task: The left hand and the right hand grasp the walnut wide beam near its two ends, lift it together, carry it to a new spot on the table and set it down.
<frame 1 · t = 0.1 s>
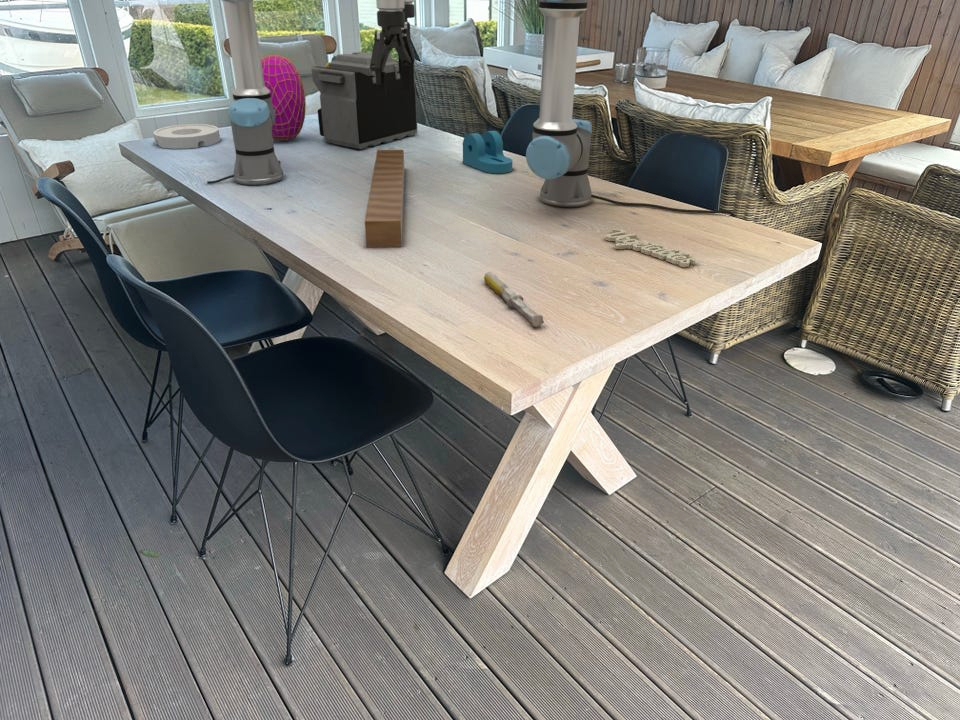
left hand: (405, 76, 224), 28 cm above the table, tool pointing down, fingers open, 13 cm apart
right hand: (394, 93, 197), 28 cm above the table, tool pointing down, fingers open, 13 cm apart
cooler box: (369, 139, 268), on the table
potted flower: (340, 116, 304), on the table
decorative egg: (284, 140, 265), on the table
wide beam: (388, 202, 200), on the table
camera mount: (490, 167, 234), on the table
syringe: (511, 303, 143), on the table
beige round base: (188, 141, 261), on the table
decorative sign: (645, 250, 169), on the table
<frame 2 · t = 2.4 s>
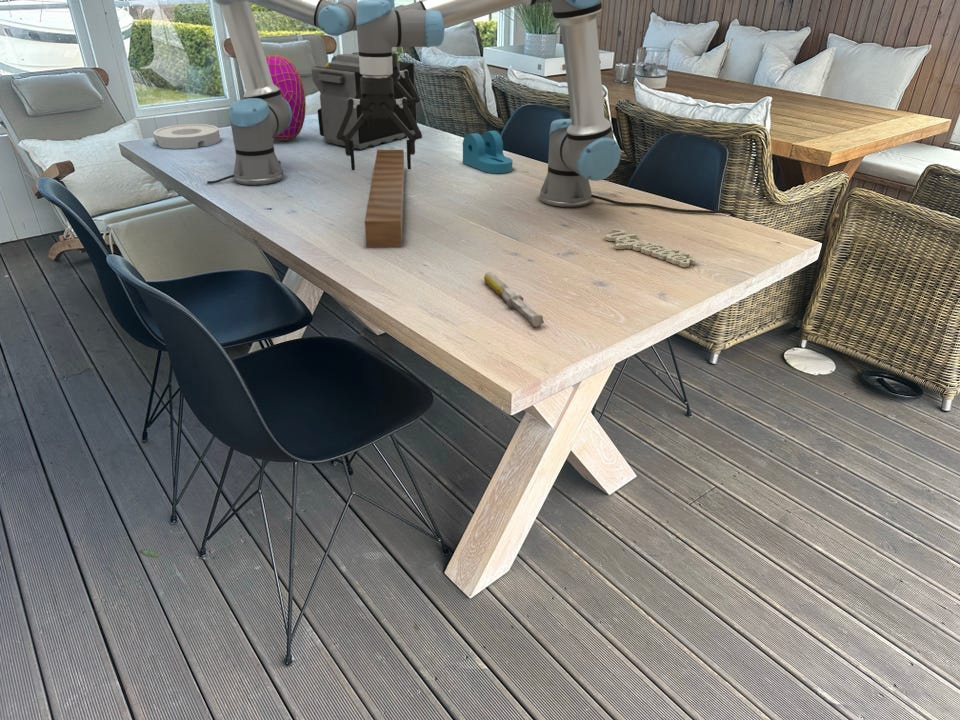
left hand: (388, 125, 218), 15 cm above the table, tool pointing down, fingers open, 13 cm apart
right hand: (381, 168, 168), 17 cm above the table, tool pointing down, fingers open, 13 cm apart
nothing on the table moved.
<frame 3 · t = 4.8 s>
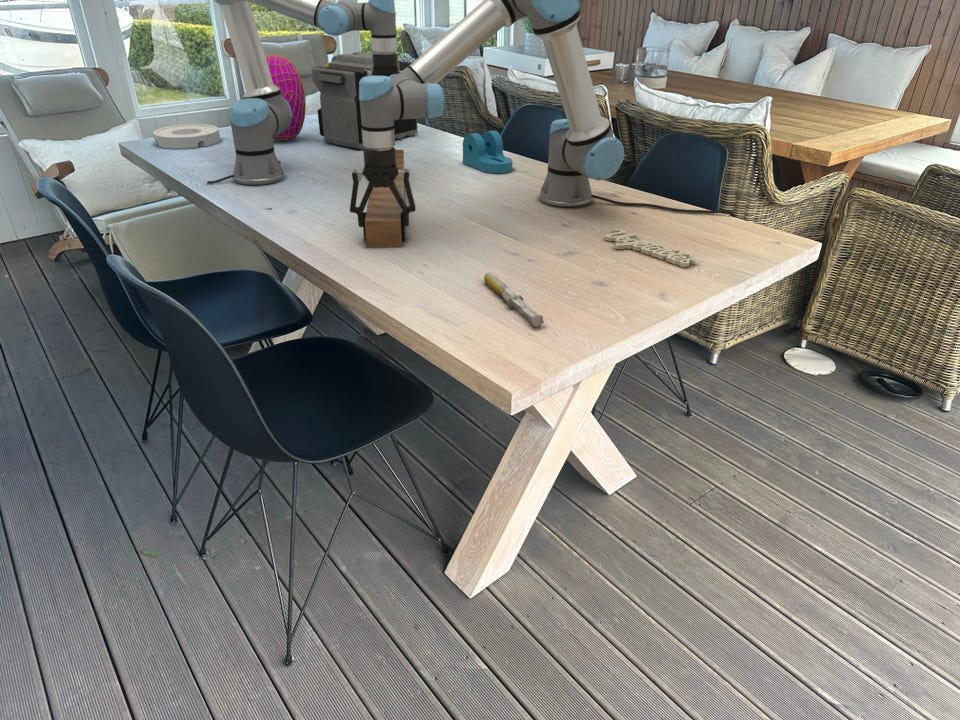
left hand: (388, 125, 218), 15 cm above the table, tool pointing down, fingers open, 13 cm apart
right hand: (384, 238, 173), 1 cm above the table, tool pointing down, fingers closed on wide beam, 9 cm apart
wide beam: (388, 202, 200), on the table, touching right hand
everything else where it was.
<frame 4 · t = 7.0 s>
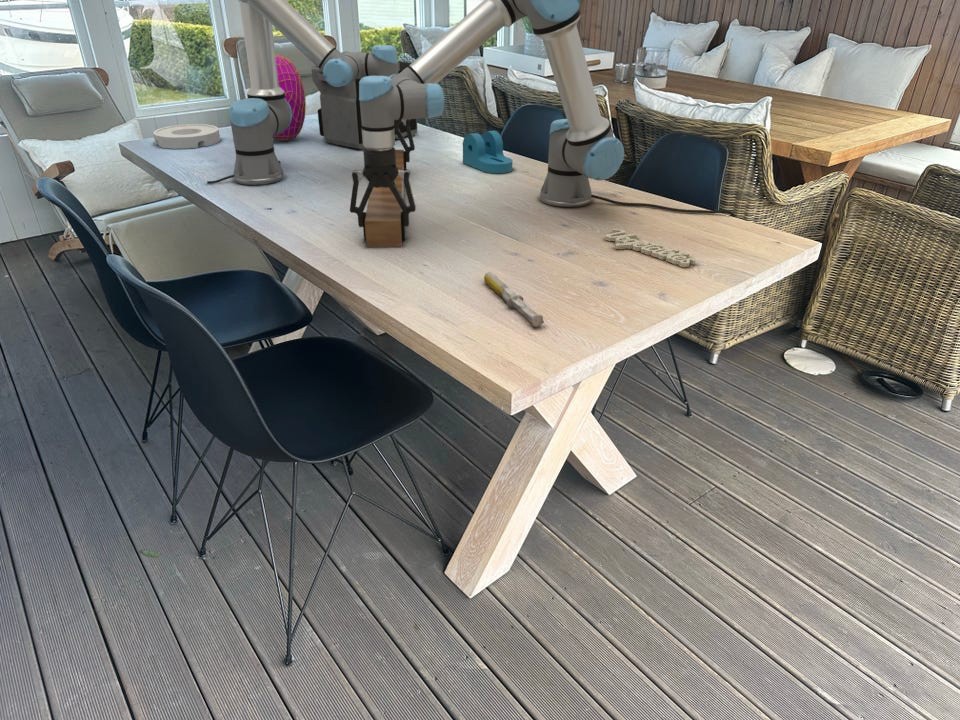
left hand: (391, 172, 226), 0 cm above the table, tool pointing down, fingers closed on wide beam, 9 cm apart
right hand: (384, 238, 173), 1 cm above the table, tool pointing down, fingers closed on wide beam, 9 cm apart
wide beam: (388, 202, 200), on the table, touching right hand, left hand
everything else where it was.
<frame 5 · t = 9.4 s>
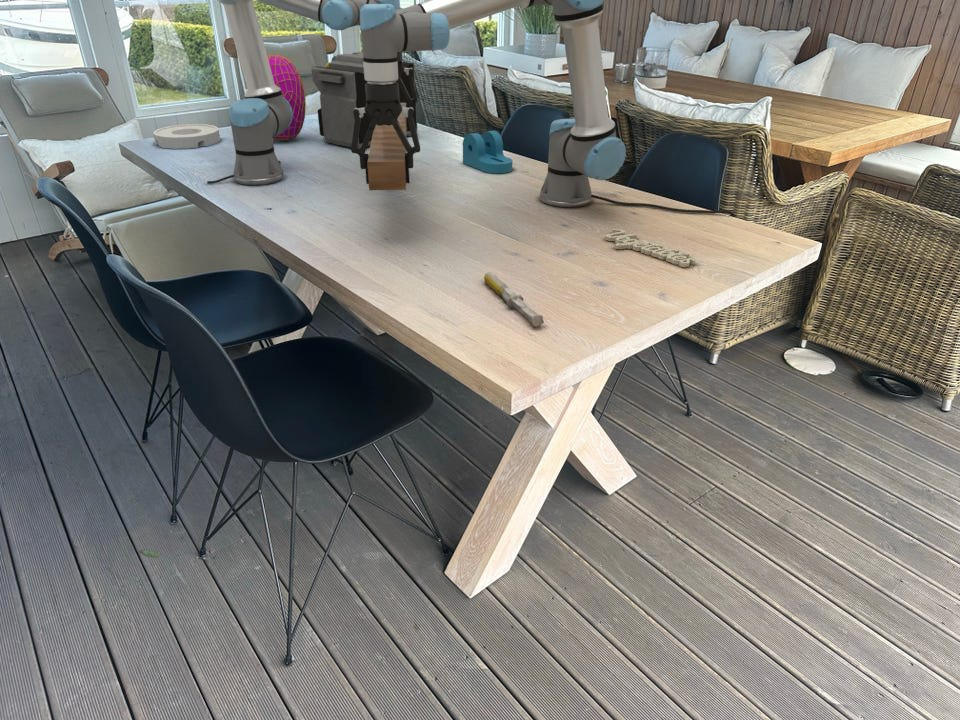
left hand: (393, 125, 218), 15 cm above the table, tool pointing down, fingers closed on wide beam, 9 cm apart
right hand: (388, 181, 165), 15 cm above the table, tool pointing down, fingers closed on wide beam, 9 cm apart
wide beam: (391, 152, 192), point 15 cm above the table, touching right hand, left hand
everything else where it was.
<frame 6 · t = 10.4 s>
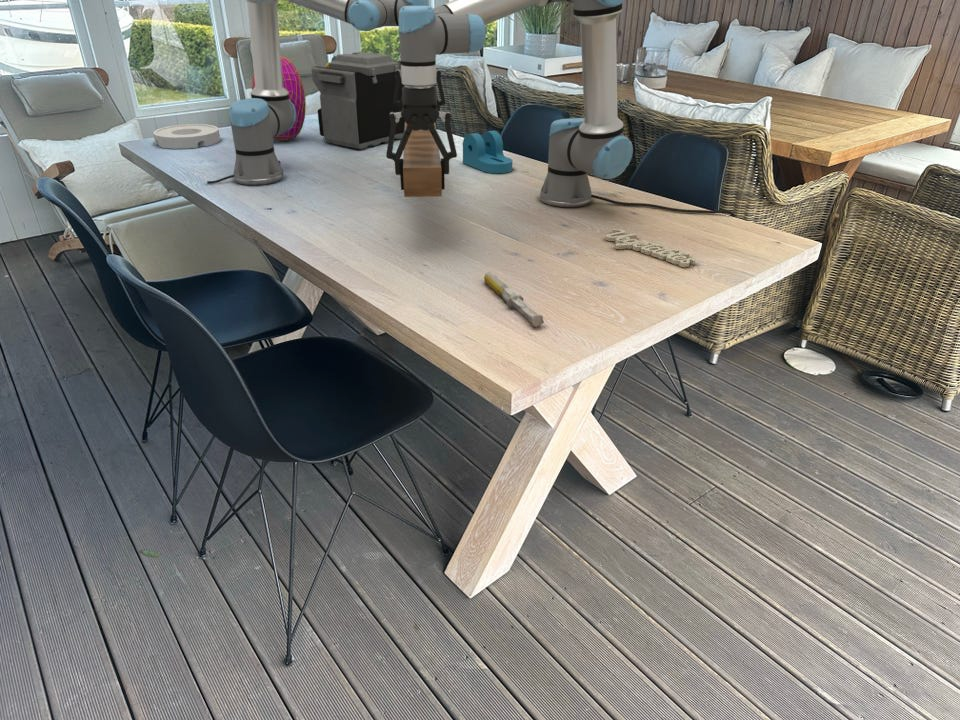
left hand: (420, 128, 214), 16 cm above the table, tool pointing down, fingers closed on wide beam, 9 cm apart
right hand: (423, 188, 161), 15 cm above the table, tool pointing down, fingers closed on wide beam, 9 cm apart
wide beam: (421, 156, 188), point 15 cm above the table, touching right hand, left hand
everything else where it was.
when the left hand's fingers open (2 cm above the table, at t = 14.3 s): wide beam drops 1 cm, on the table.
when the right hand's fingers open (2 cm above the table, at t = 14.3 s): wide beam drops 1 cm, on the table.
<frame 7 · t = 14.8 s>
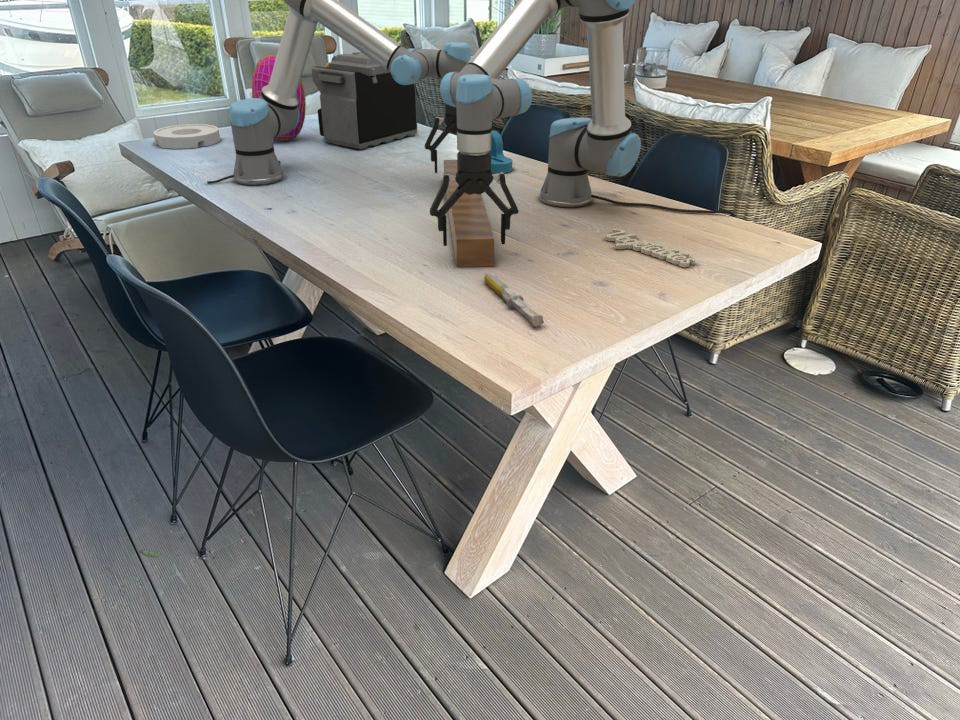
left hand: (457, 171, 214), 4 cm above the table, tool pointing down, fingers open, 13 cm apart
right hand: (474, 243, 161), 4 cm above the table, tool pointing down, fingers open, 13 cm apart
wide beam: (464, 216, 189), on the table
everything else where it was.
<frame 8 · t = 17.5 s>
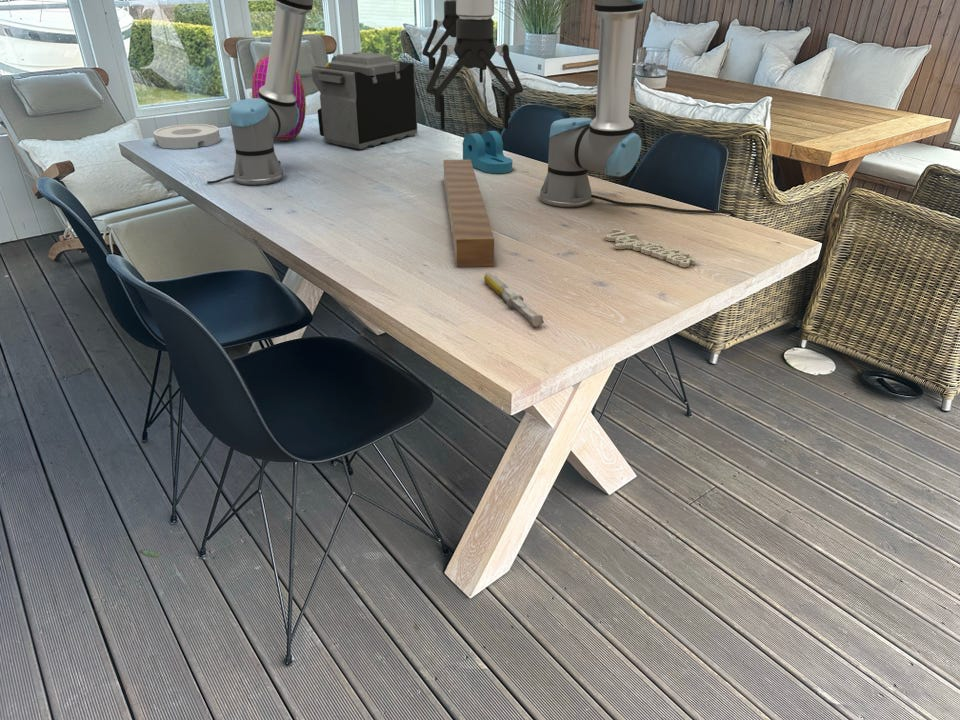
left hand: (457, 82, 201), 30 cm above the table, tool pointing down, fingers open, 13 cm apart
right hand: (474, 127, 148), 30 cm above the table, tool pointing down, fingers open, 13 cm apart
nothing on the table moved.
at the end: wide beam inside the target area (0.1 cm from its centre), on the table; wide beam tilted 0°; wide beam never tilted more than 1° during the clip; both hands held the wide beam at the same time; the left hand is holding nothing; the right hand is holding nothing; wide beam at rest at the end (0.0 cm/s) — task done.
